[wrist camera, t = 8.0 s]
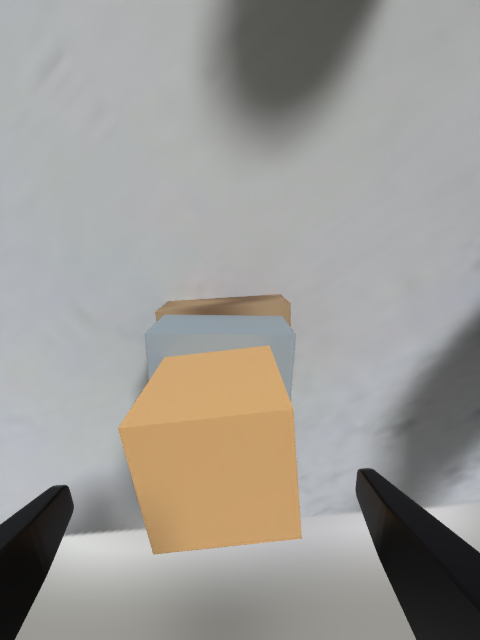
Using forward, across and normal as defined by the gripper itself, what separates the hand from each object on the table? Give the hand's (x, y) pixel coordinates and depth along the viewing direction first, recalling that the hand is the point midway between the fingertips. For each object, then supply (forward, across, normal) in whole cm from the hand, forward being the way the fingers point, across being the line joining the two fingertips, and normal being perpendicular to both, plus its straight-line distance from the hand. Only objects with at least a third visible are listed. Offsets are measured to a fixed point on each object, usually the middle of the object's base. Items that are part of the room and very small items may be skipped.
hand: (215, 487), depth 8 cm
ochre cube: (+5, 0, 0) cm, 5 cm away
